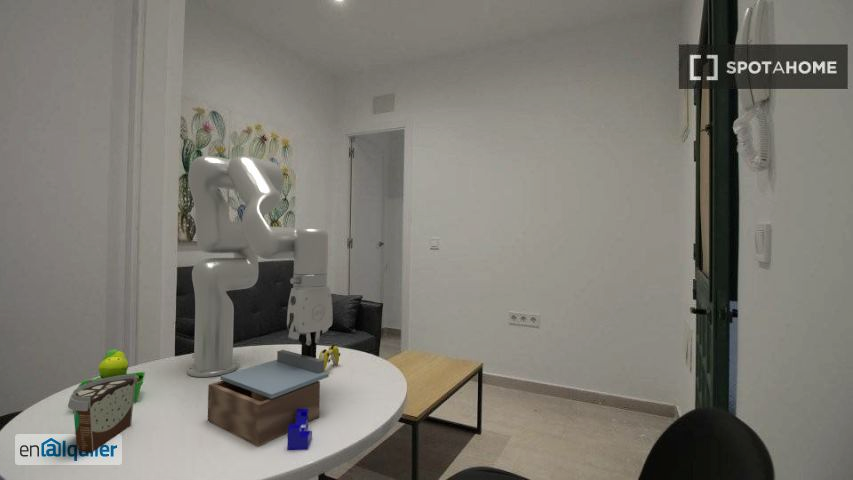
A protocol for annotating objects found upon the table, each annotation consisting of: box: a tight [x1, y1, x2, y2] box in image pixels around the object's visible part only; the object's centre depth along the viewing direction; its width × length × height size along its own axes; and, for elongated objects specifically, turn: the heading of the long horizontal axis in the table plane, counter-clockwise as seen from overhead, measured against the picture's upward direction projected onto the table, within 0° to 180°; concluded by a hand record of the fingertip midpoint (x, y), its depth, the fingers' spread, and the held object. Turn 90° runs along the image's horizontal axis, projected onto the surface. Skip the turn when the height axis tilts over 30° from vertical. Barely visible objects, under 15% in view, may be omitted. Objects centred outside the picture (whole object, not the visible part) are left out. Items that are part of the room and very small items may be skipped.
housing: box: [207, 380, 321, 448], centre depth 77 cm, size 17×14×8 cm
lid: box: [219, 349, 330, 399], centre depth 79 cm, size 17×14×3 cm
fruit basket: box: [77, 349, 146, 404], centre depth 84 cm, size 11×9×11 cm
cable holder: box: [286, 409, 313, 451], centre depth 70 cm, size 8×4×4 cm, turn 7°
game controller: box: [318, 344, 341, 372], centre depth 108 cm, size 10×4×6 cm, turn 169°
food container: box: [67, 374, 137, 453], centre depth 68 cm, size 12×6×10 cm, turn 5°
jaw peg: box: [252, 392, 270, 402], centre depth 77 cm, size 4×4×6 cm
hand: (308, 360), depth 87 cm, fingers closed
